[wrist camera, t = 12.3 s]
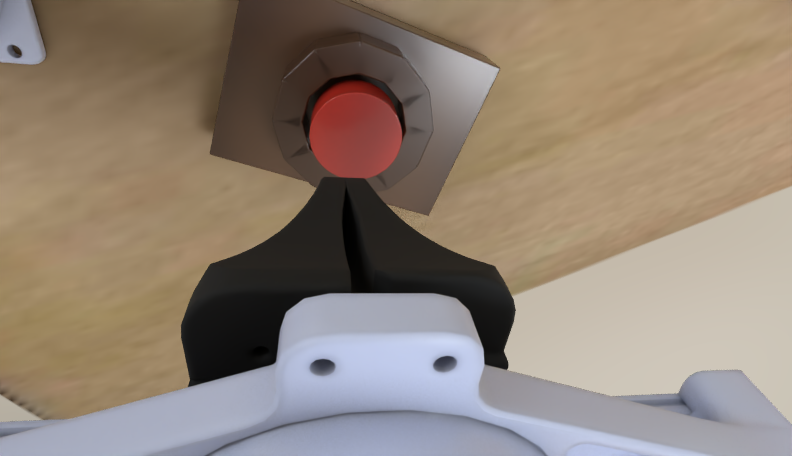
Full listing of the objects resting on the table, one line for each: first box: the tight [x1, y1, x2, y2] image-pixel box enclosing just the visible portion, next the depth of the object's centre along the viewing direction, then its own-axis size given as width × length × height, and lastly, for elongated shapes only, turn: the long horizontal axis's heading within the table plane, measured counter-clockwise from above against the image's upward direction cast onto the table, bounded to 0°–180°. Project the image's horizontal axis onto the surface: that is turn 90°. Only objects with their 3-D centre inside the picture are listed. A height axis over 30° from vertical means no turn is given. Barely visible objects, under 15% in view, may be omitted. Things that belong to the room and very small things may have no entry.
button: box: [310, 80, 402, 179], centre depth 18 cm, size 4×4×2 cm
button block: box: [210, 0, 500, 215], centre depth 20 cm, size 11×8×4 cm
